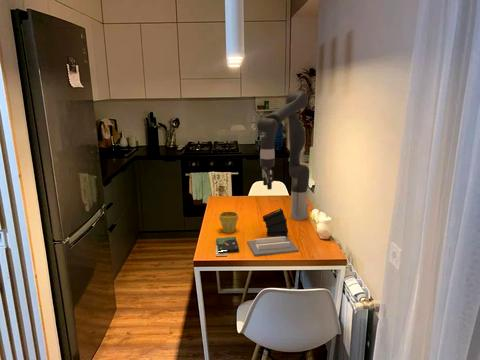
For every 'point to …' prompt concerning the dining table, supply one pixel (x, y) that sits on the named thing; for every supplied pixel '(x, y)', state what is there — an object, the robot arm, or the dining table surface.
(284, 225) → the magazine
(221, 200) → the dining table surface
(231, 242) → the disk drive
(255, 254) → the rail board
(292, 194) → the robot arm
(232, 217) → the plant pot
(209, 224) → the dining table surface
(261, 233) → the dining table surface
